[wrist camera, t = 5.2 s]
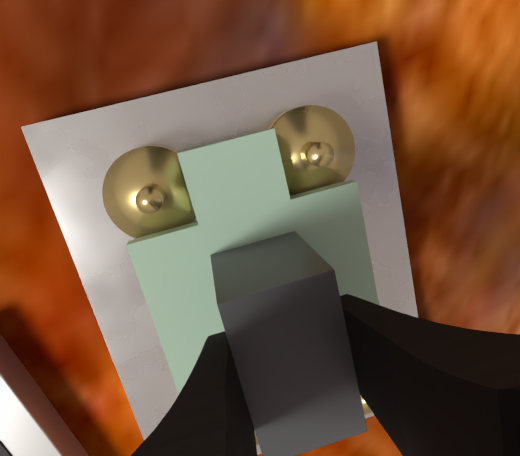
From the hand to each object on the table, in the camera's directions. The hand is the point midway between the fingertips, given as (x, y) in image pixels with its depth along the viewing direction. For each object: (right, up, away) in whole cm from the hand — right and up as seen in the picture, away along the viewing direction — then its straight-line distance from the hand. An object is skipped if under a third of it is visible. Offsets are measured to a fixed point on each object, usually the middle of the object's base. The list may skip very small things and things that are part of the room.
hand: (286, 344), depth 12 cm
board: (-1, +1, +3) cm, 3 cm away
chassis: (-1, +1, +6) cm, 6 cm away
